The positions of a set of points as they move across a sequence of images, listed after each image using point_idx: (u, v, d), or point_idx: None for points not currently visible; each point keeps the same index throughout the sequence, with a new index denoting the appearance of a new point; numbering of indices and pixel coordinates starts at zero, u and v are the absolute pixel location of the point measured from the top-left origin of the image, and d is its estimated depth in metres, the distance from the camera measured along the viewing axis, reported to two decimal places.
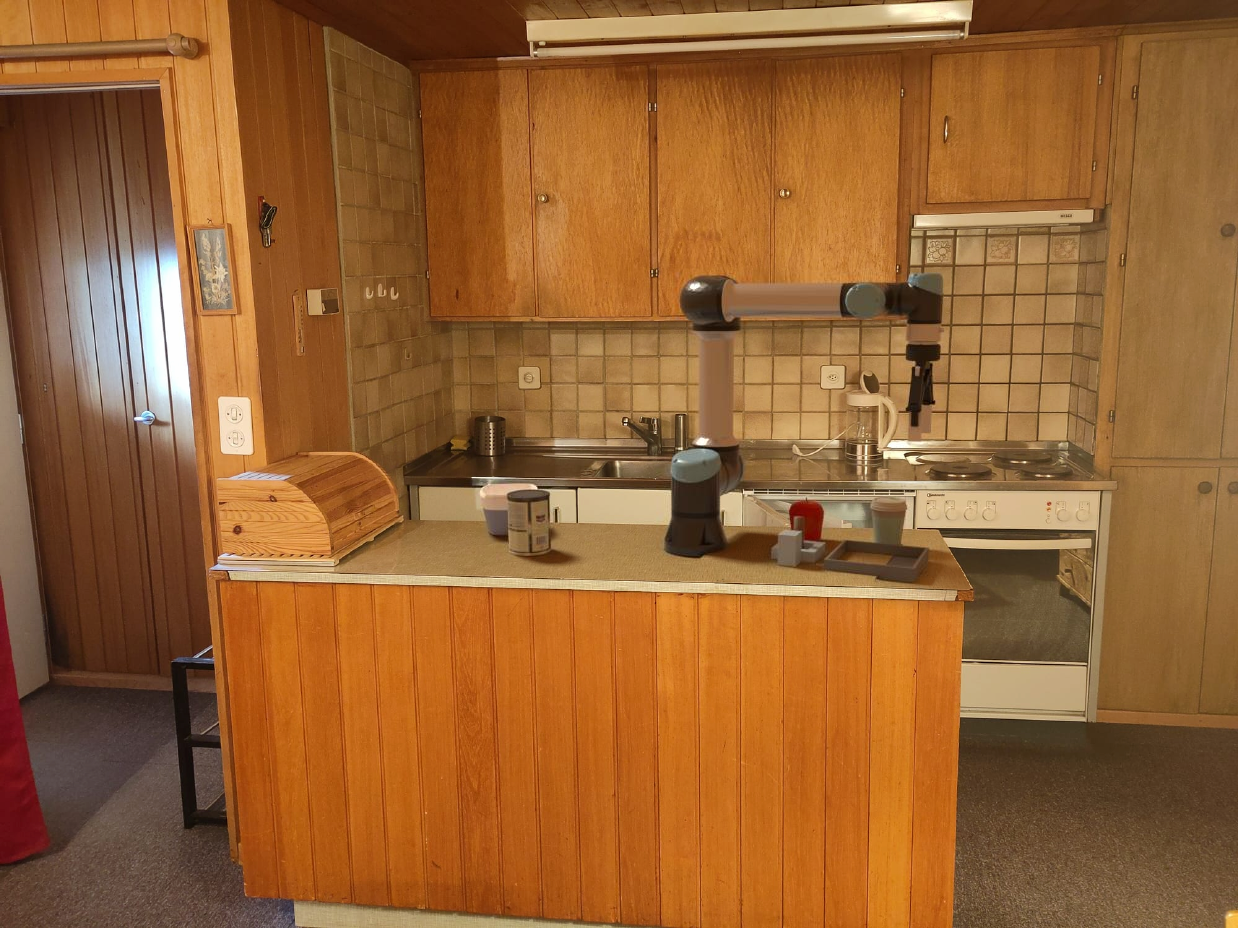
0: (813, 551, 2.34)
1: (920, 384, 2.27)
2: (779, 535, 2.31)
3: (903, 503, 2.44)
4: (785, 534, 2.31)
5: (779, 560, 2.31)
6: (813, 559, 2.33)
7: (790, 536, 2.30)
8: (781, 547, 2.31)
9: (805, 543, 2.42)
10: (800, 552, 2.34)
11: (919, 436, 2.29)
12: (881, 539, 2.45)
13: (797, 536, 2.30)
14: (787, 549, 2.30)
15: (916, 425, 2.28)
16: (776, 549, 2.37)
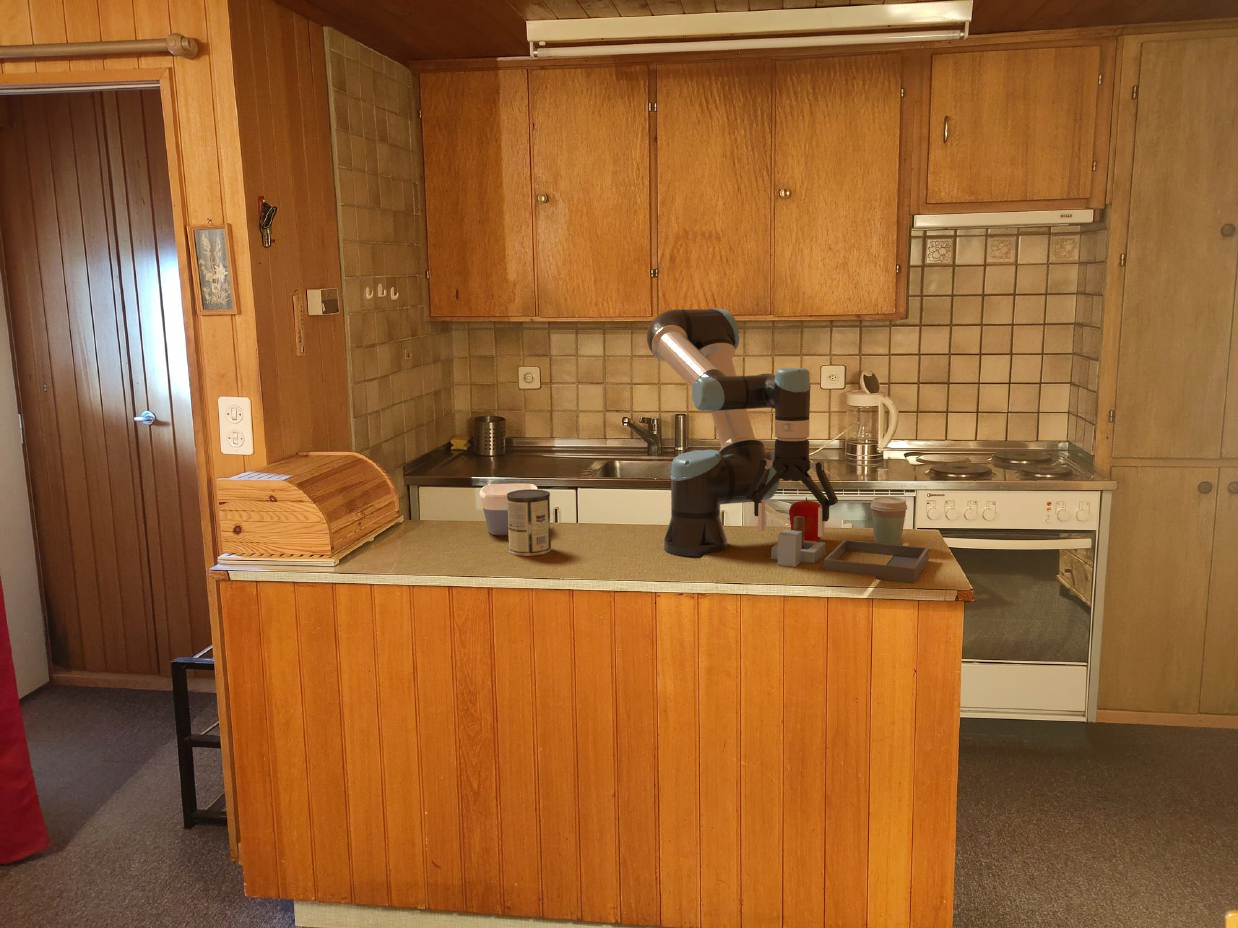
0: (813, 551, 2.34)
1: None
2: (779, 535, 2.31)
3: (903, 503, 2.44)
4: (785, 534, 2.31)
5: (779, 560, 2.31)
6: (813, 559, 2.33)
7: (790, 536, 2.30)
8: (781, 547, 2.31)
9: (805, 543, 2.42)
10: (800, 552, 2.34)
11: None
12: (881, 539, 2.45)
13: (797, 536, 2.30)
14: (787, 549, 2.30)
15: (754, 514, 2.34)
16: (776, 549, 2.37)
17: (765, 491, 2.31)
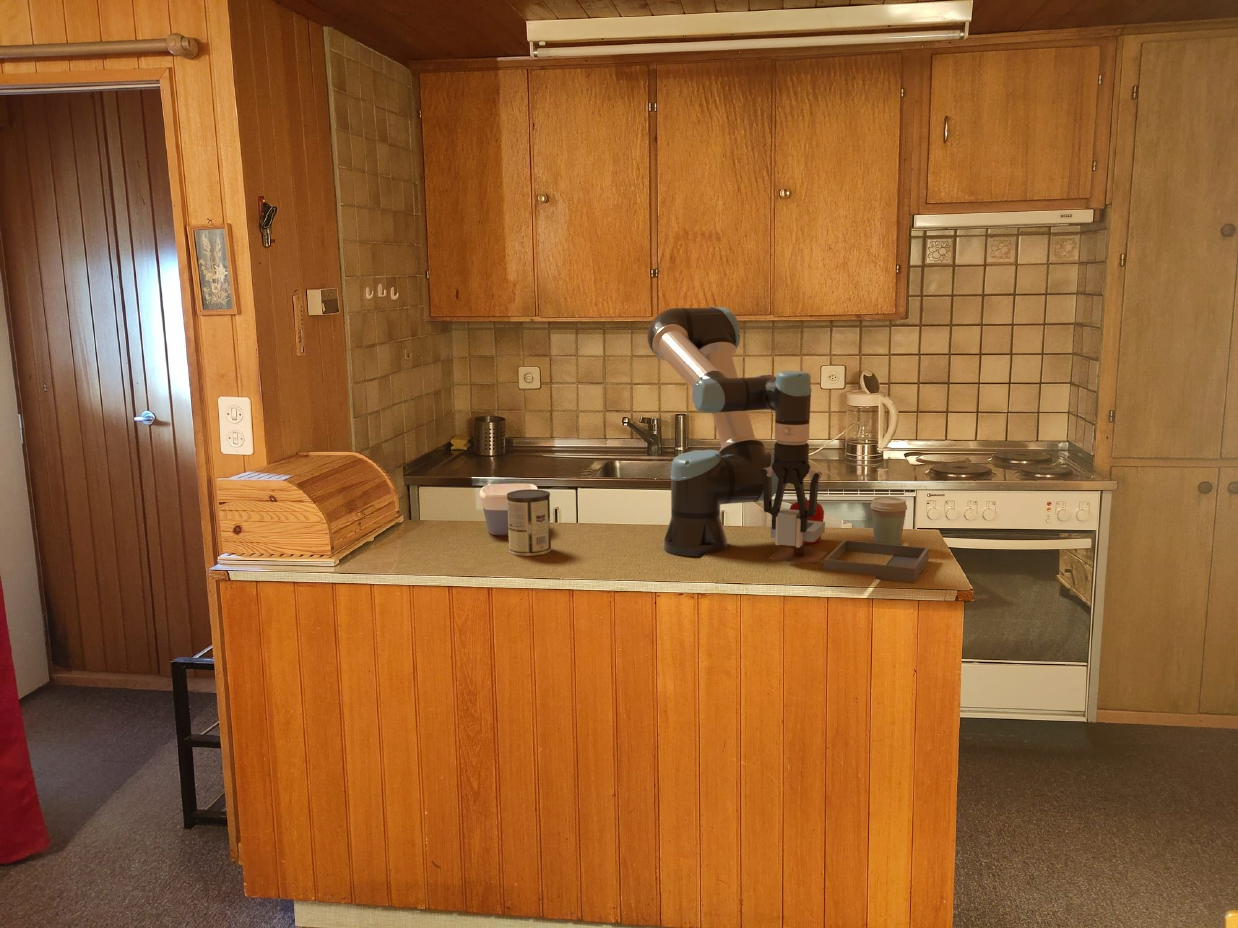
0: (813, 530, 2.33)
1: None
2: (779, 514, 2.30)
3: (903, 503, 2.44)
4: (785, 513, 2.30)
5: (779, 539, 2.31)
6: (813, 538, 2.33)
7: (790, 515, 2.29)
8: (781, 527, 2.30)
9: None
10: None
11: None
12: (881, 539, 2.45)
13: (797, 515, 2.30)
14: (786, 528, 2.30)
15: (772, 527, 2.33)
16: None
17: (778, 501, 2.31)
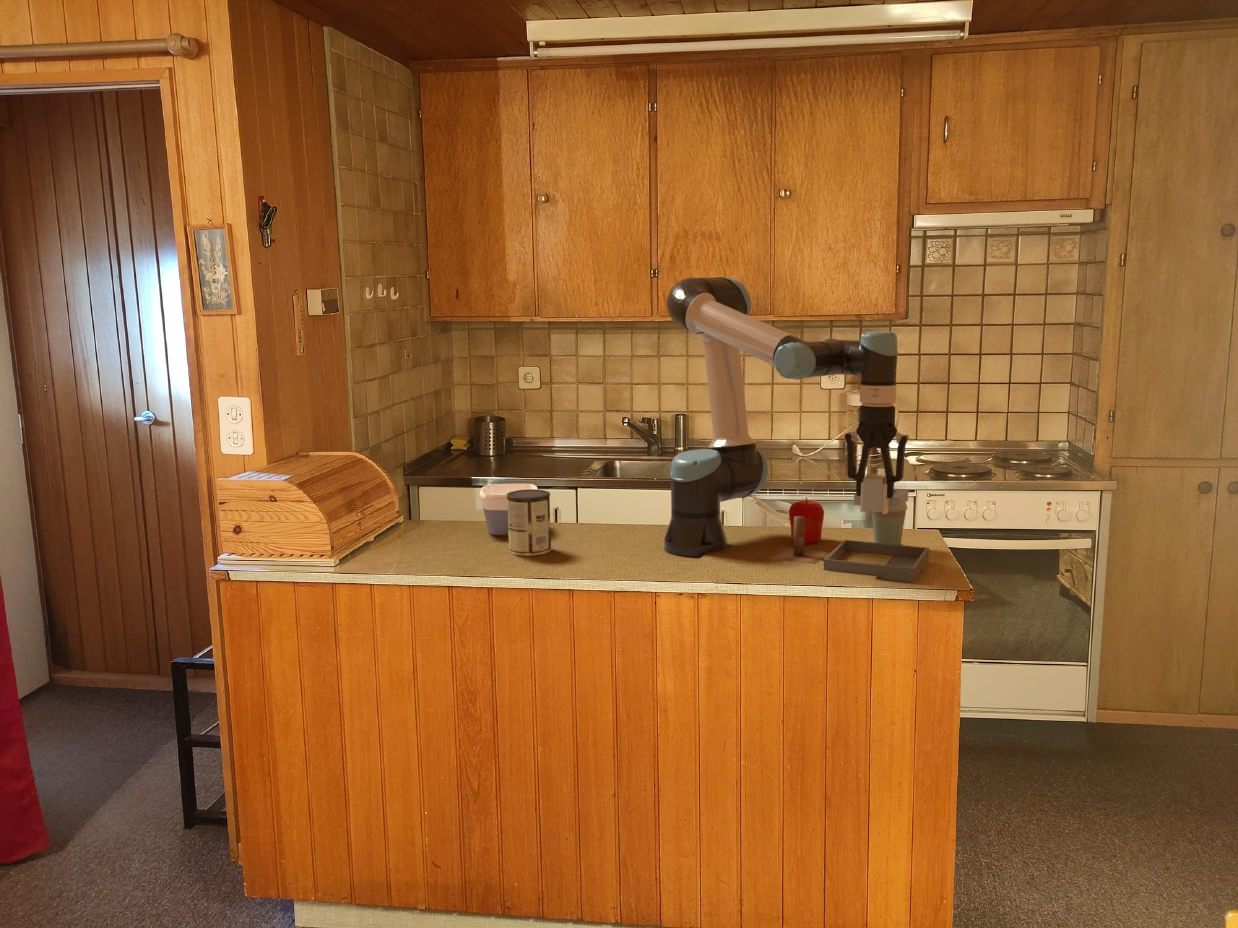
0: (898, 496, 2.26)
1: None
2: (864, 479, 2.23)
3: None
4: (871, 478, 2.23)
5: (864, 505, 2.24)
6: (899, 505, 2.26)
7: (876, 480, 2.22)
8: (867, 492, 2.23)
9: None
10: None
11: None
12: (881, 539, 2.45)
13: (883, 480, 2.23)
14: (872, 494, 2.23)
15: (856, 494, 2.26)
16: None
17: (863, 466, 2.24)
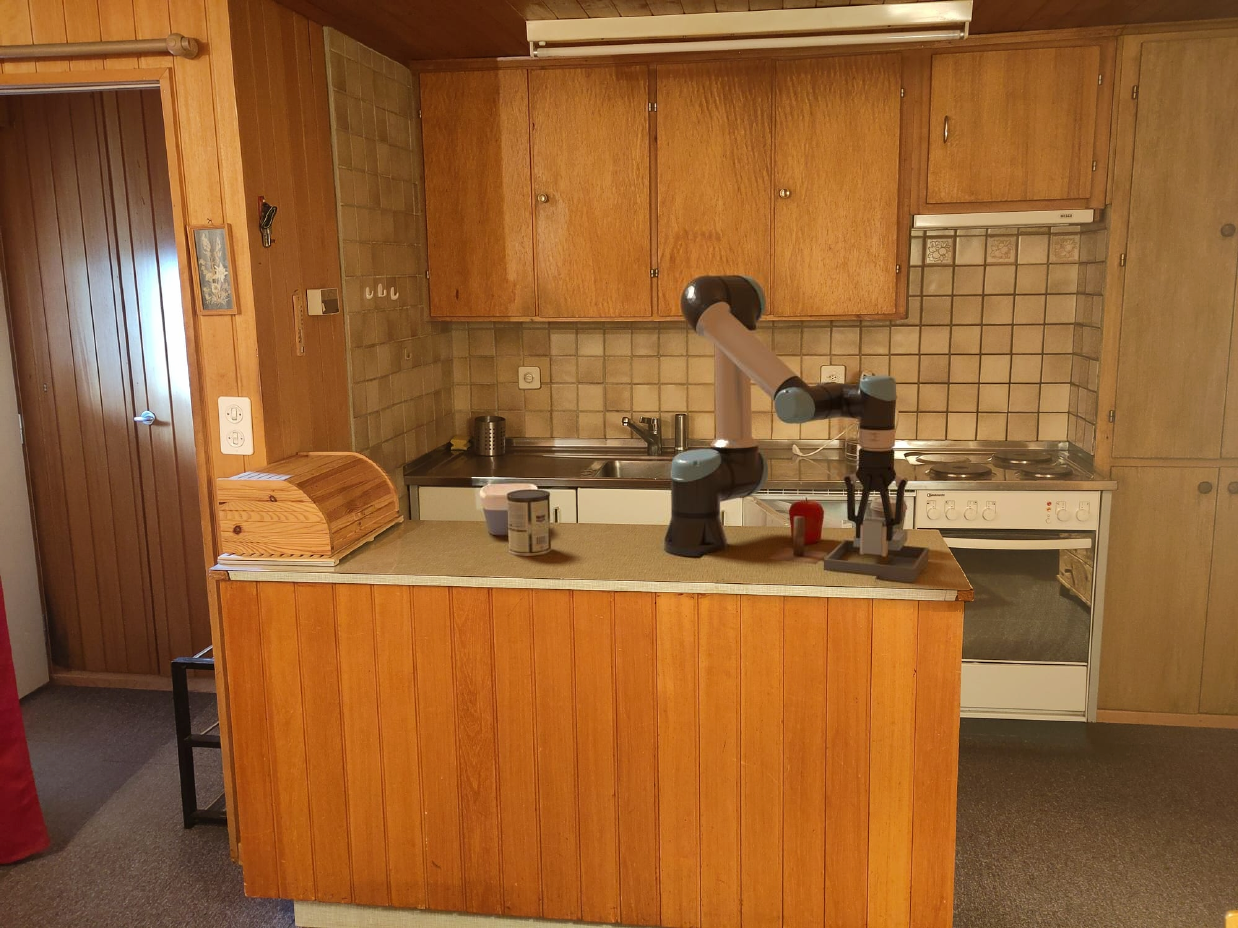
0: (898, 539, 2.28)
1: None
2: (864, 522, 2.24)
3: (903, 503, 2.44)
4: (870, 521, 2.25)
5: (864, 548, 2.25)
6: (898, 547, 2.27)
7: (876, 523, 2.23)
8: (866, 535, 2.25)
9: None
10: None
11: None
12: None
13: (882, 523, 2.24)
14: (872, 536, 2.24)
15: (856, 536, 2.28)
16: None
17: (862, 509, 2.25)
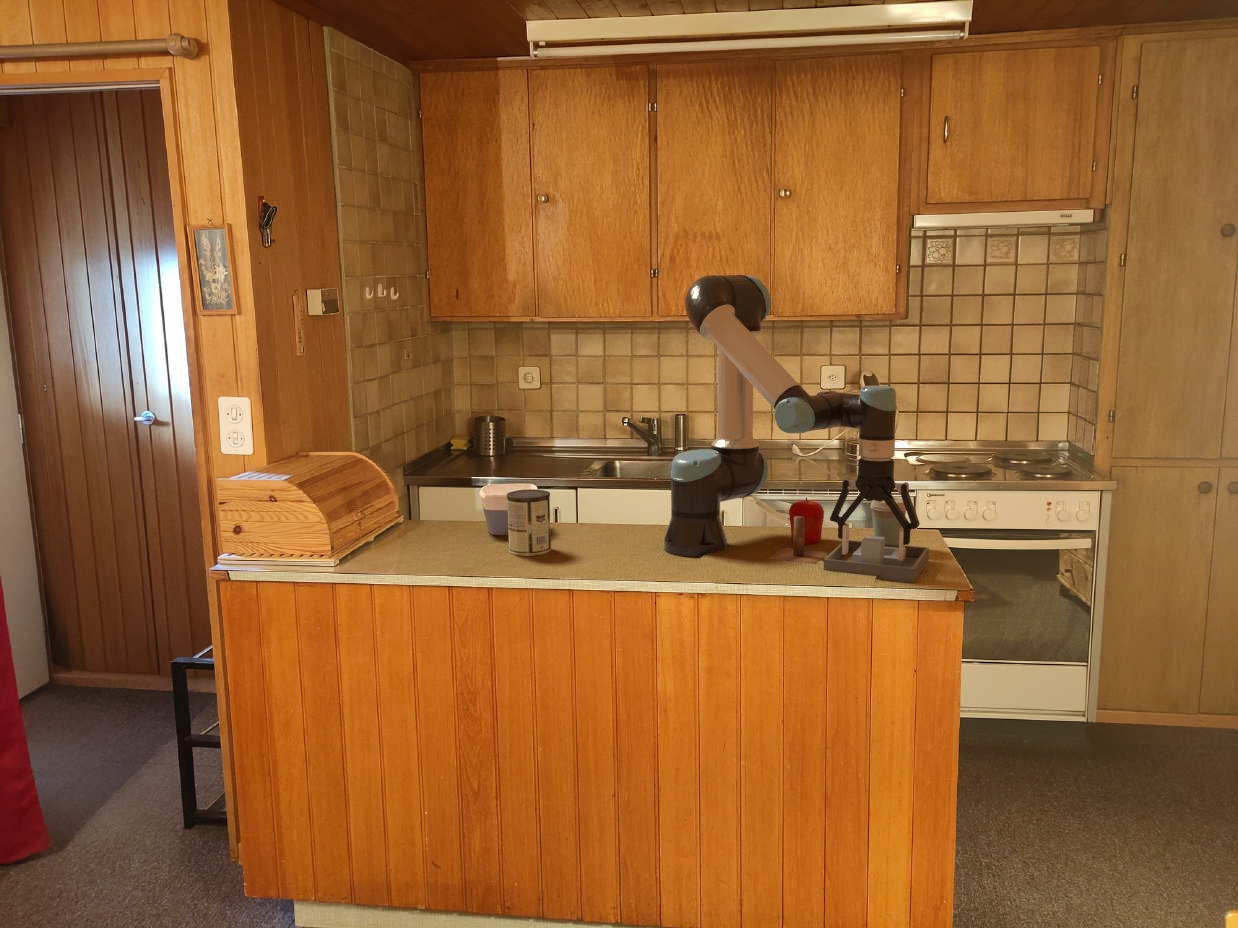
0: (896, 557, 2.29)
1: None
2: (863, 541, 2.25)
3: (903, 503, 2.44)
4: (869, 540, 2.25)
5: None
6: None
7: (874, 542, 2.24)
8: (865, 554, 2.25)
9: (885, 549, 2.37)
10: (883, 558, 2.28)
11: None
12: None
13: (881, 542, 2.25)
14: (870, 556, 2.25)
15: None
16: (857, 555, 2.31)
17: (849, 513, 2.27)
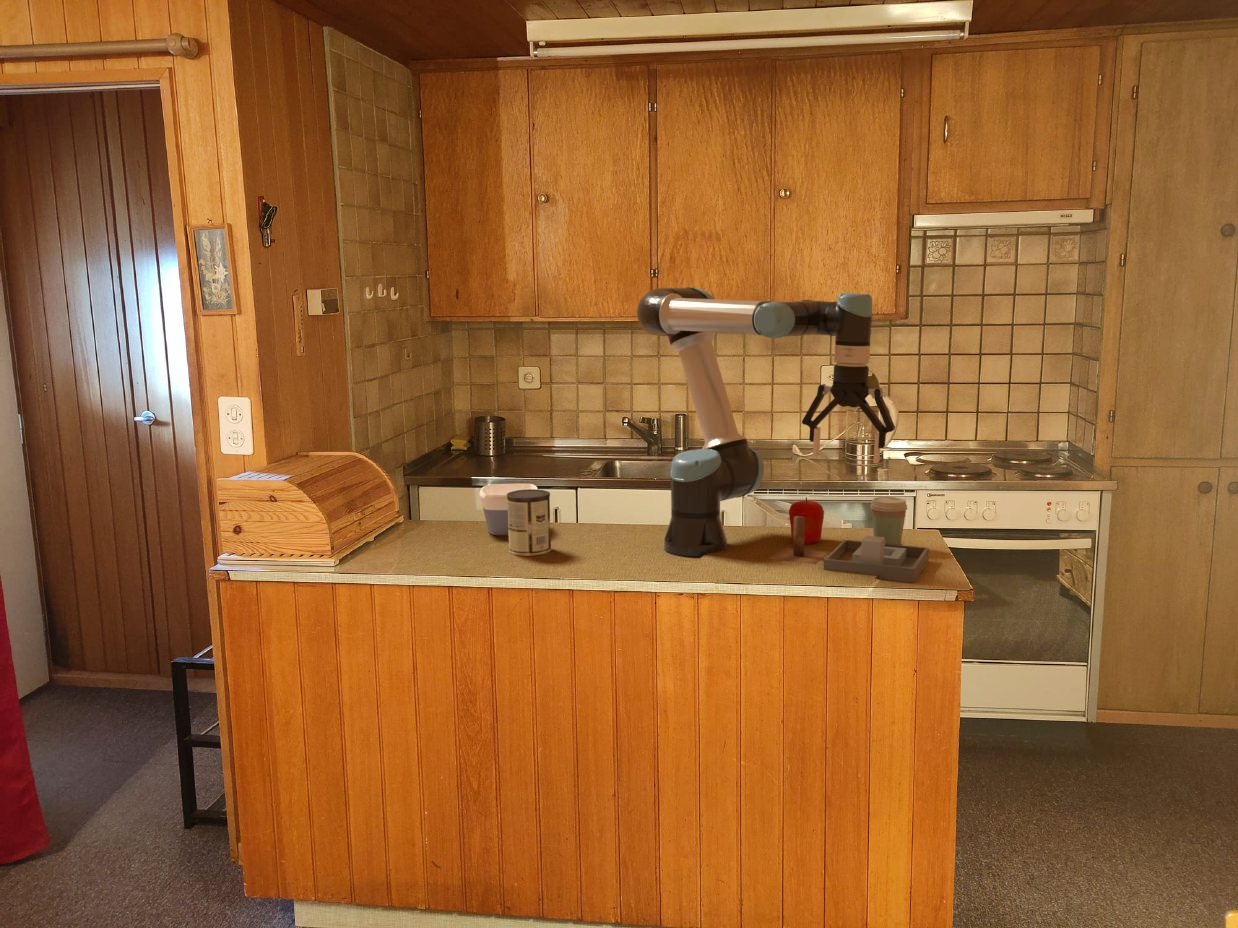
0: (896, 557, 2.29)
1: None
2: (863, 541, 2.25)
3: (903, 503, 2.44)
4: (869, 540, 2.25)
5: None
6: None
7: (874, 542, 2.24)
8: (865, 554, 2.25)
9: (885, 549, 2.37)
10: (883, 558, 2.28)
11: None
12: None
13: (881, 542, 2.25)
14: (870, 556, 2.25)
15: (810, 440, 2.35)
16: (857, 555, 2.31)
17: (822, 417, 2.32)
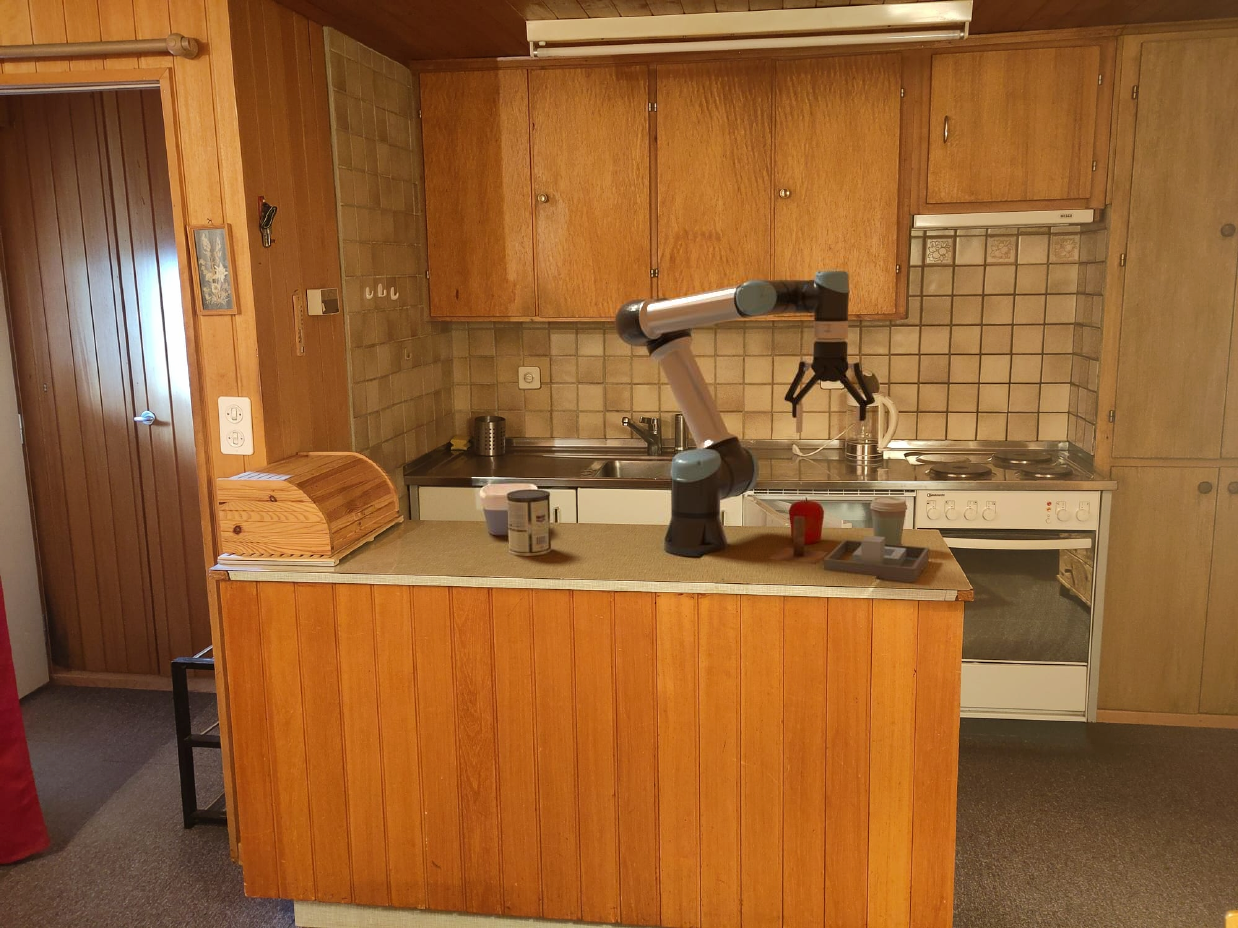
0: (896, 557, 2.29)
1: None
2: (863, 541, 2.25)
3: (903, 503, 2.44)
4: (869, 540, 2.25)
5: None
6: None
7: (874, 542, 2.24)
8: (865, 554, 2.25)
9: (885, 549, 2.37)
10: (883, 558, 2.28)
11: None
12: None
13: (881, 542, 2.25)
14: (870, 556, 2.25)
15: None
16: (857, 555, 2.31)
17: (803, 392, 2.37)
